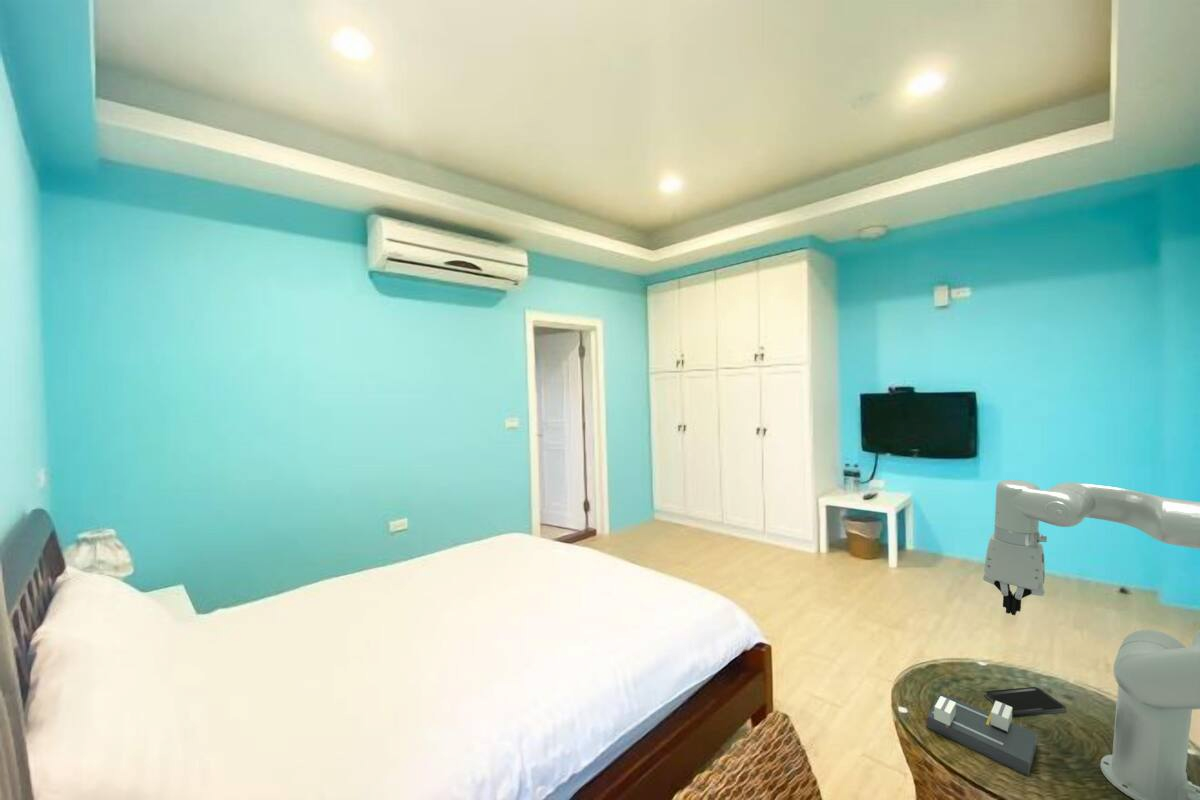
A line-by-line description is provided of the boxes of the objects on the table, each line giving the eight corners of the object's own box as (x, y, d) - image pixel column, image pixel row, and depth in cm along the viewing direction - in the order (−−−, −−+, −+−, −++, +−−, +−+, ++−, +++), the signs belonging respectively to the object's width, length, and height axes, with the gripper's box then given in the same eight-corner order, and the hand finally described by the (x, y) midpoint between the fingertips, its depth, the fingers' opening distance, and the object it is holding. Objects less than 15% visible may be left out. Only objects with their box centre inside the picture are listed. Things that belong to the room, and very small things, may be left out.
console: (1037, 743, 108) (1038, 730, 107) (1027, 778, 99) (1028, 764, 99) (941, 701, 121) (941, 690, 121) (925, 729, 113) (926, 717, 112)
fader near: (955, 714, 113) (956, 702, 112) (949, 726, 109) (950, 713, 109) (940, 707, 115) (940, 695, 114) (934, 718, 111) (934, 706, 111)
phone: (981, 691, 123) (1037, 686, 124) (981, 695, 123) (1037, 690, 124) (1010, 714, 115) (1069, 709, 116) (1009, 719, 115) (1068, 713, 116)
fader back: (1011, 719, 110) (1012, 706, 110) (1007, 731, 107) (1008, 718, 107) (995, 712, 113) (995, 700, 112) (990, 724, 109) (991, 711, 109)
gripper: (1062, 539, 107) (1057, 618, 108) (978, 522, 118) (975, 594, 120) (1058, 549, 102) (1053, 632, 104) (970, 531, 113) (967, 606, 115)
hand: (1011, 611), depth 112 cm, fingers closed
